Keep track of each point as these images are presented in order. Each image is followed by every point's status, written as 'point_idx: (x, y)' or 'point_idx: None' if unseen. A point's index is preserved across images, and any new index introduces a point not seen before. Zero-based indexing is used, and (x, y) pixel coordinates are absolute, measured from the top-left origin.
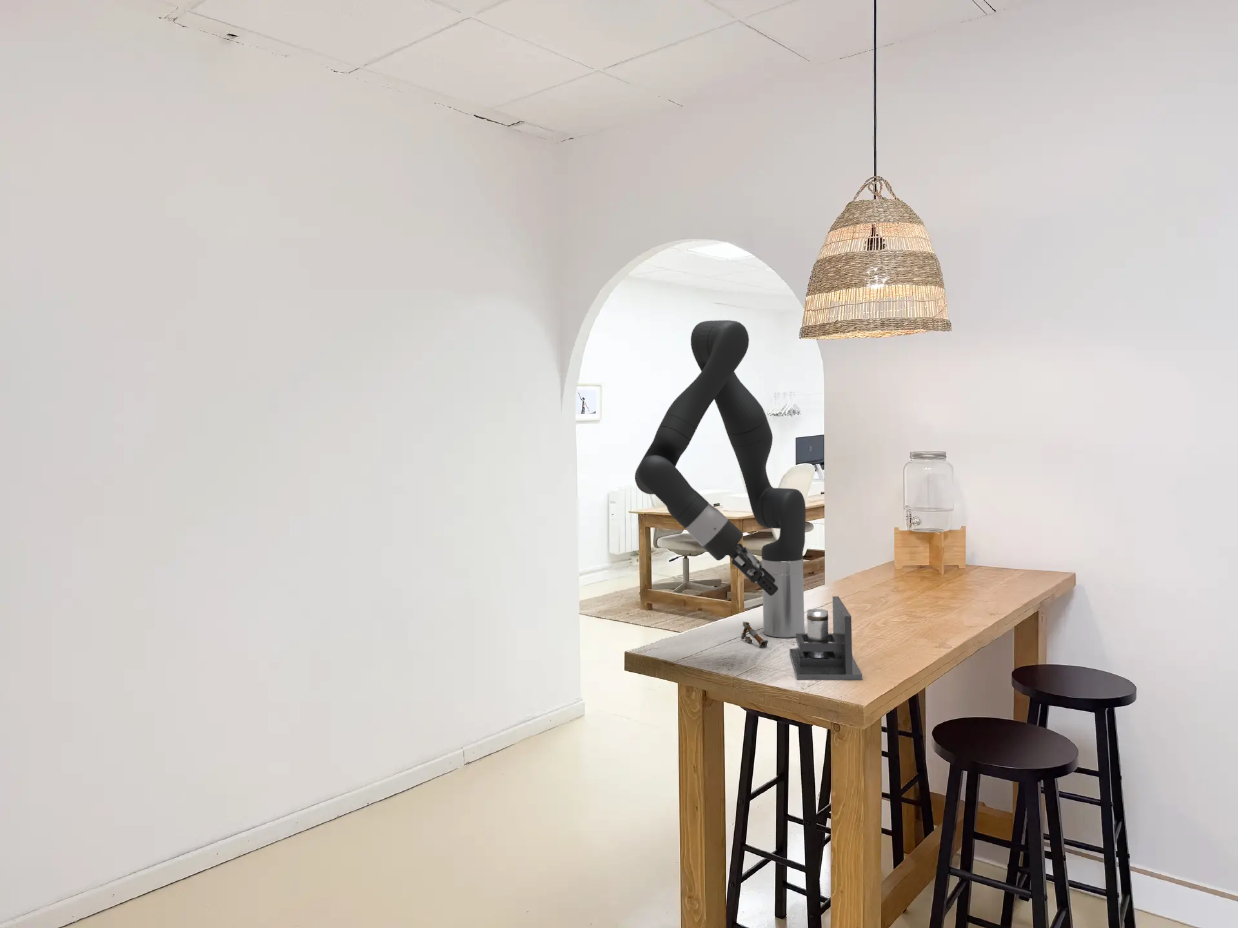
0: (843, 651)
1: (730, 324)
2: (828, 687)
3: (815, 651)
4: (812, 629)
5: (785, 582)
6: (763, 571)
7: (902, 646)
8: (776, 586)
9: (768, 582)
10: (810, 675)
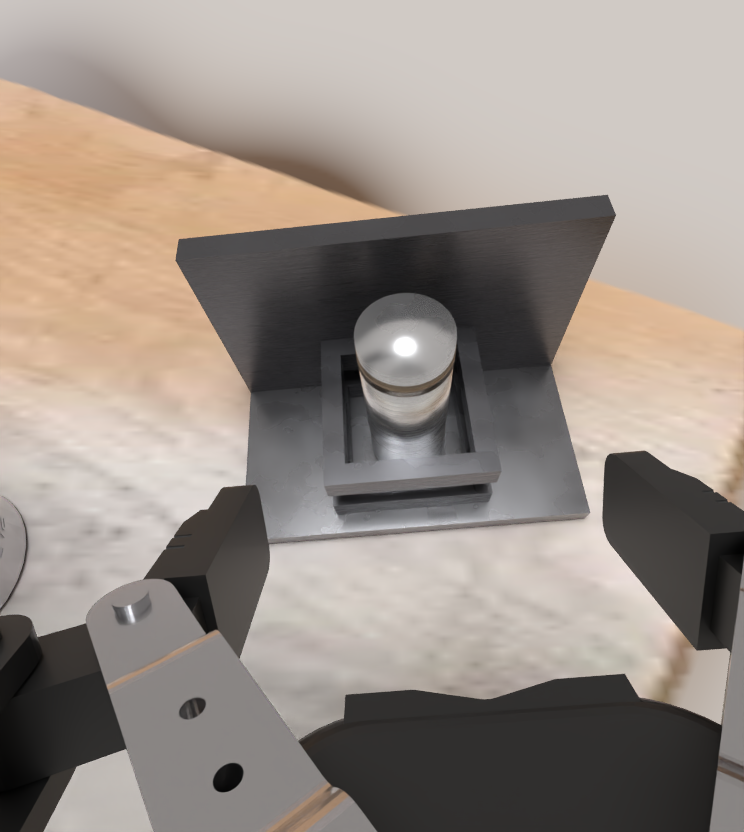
0: (516, 332)
1: None
2: (641, 422)
3: (444, 430)
4: (444, 397)
5: None
6: (220, 577)
7: (192, 236)
8: (653, 457)
9: (738, 512)
10: (576, 468)
